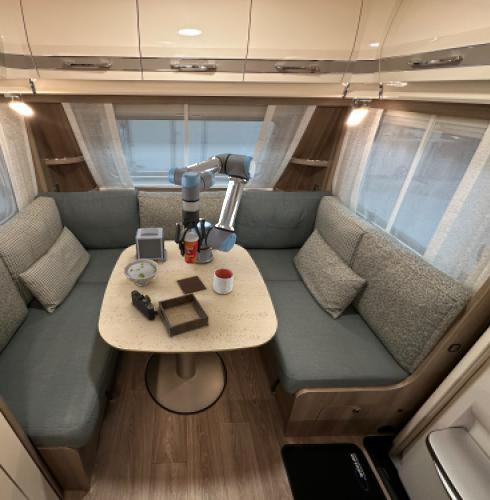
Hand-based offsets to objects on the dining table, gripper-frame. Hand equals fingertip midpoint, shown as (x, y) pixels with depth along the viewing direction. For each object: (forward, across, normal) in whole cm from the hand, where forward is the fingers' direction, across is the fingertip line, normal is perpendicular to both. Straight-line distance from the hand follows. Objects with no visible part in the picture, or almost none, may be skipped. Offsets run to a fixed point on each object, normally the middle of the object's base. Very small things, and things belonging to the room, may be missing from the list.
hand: (190, 253), depth 128 cm
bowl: (+23, +22, -16) cm, 35 cm away
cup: (+23, -16, +5) cm, 29 cm away
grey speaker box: (+23, +10, -41) cm, 48 cm away
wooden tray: (+23, +11, +17) cm, 30 cm away
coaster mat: (+23, -2, -4) cm, 23 cm away
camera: (+23, +25, +5) cm, 34 cm away
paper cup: (+4, 0, 0) cm, 4 cm away
